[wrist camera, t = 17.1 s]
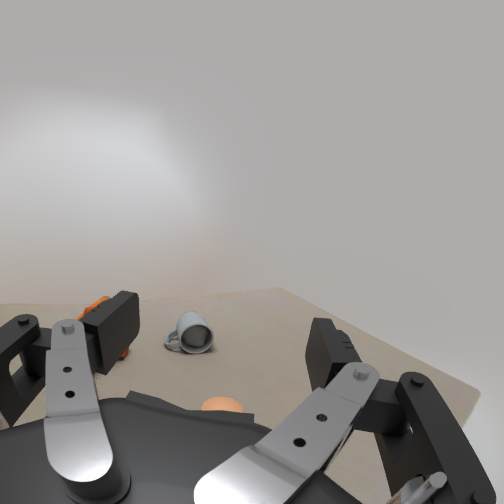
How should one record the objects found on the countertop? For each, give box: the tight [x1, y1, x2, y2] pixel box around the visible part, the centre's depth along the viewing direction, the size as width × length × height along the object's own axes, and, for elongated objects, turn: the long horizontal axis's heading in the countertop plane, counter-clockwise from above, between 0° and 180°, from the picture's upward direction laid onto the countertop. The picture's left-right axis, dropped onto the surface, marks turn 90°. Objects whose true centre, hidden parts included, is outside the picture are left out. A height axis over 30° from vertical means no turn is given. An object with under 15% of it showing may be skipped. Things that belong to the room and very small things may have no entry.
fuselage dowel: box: [201, 397, 244, 413], centre depth 28 cm, size 5×5×12 cm
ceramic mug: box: [164, 312, 214, 354], centre depth 60 cm, size 11×8×8 cm
